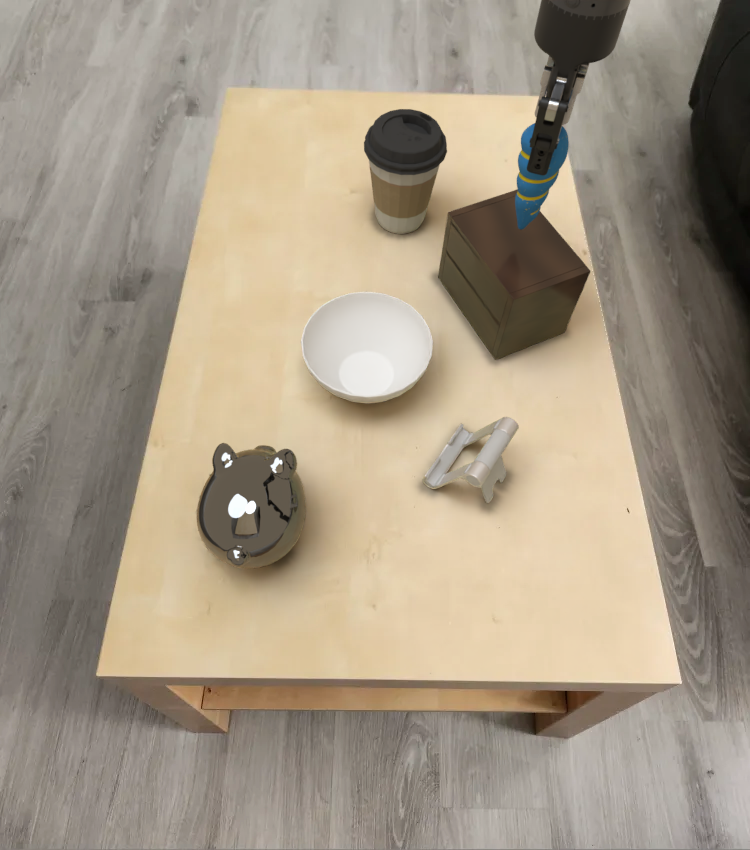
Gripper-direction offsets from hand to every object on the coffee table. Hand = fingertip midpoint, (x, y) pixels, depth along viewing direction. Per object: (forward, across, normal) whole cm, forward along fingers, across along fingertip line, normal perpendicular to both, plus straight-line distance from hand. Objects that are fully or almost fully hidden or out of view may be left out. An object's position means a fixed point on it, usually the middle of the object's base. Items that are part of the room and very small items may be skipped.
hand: (542, 154), depth 74 cm
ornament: (+11, 0, 0) cm, 11 cm away
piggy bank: (+25, -42, +18) cm, 52 cm away
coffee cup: (+25, +11, +19) cm, 33 cm away
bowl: (+25, -18, +14) cm, 33 cm away
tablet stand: (+25, -27, -3) cm, 37 cm away
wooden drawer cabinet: (+25, 0, 0) cm, 25 cm away
